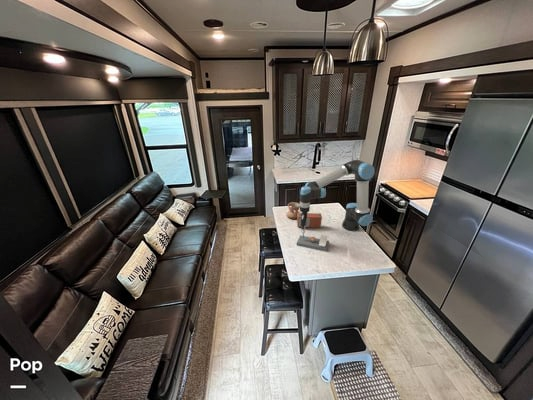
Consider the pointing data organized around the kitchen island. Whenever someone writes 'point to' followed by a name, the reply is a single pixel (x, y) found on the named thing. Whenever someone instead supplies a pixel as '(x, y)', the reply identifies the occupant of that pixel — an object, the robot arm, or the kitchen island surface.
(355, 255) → the kitchen island surface
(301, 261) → the kitchen island surface
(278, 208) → the kitchen island surface
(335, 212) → the kitchen island surface
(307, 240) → the switch panel
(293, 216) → the ceramic jug
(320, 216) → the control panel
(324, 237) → the rocker switch
